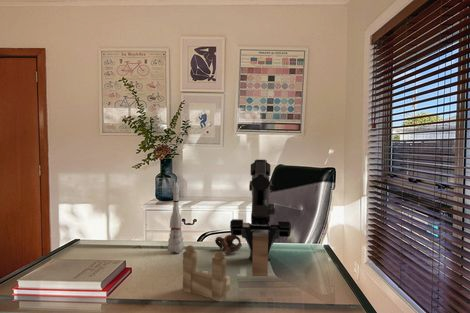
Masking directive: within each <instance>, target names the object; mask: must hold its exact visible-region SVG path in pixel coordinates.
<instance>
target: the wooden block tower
mask: <svg viewBox="0 0 470 313" xmlns="http://www.w3.org/2000/svg"><path fill="white" fill-rule="evenodd" d="M197 257H198V252H197V250H195V247H194V245H187V246H186V247H185V251H183V252H182V291H184V292H186V293H192V294H196V295H200V296H203V297H205V298H206V297H207V298H210V299H211V300H214V301H215V302H216V301H217V302H222V301H224V300H225V299H226V298H227V292H229V291H230V290H231V276H228V275H227V257H225V254H224V253H223V251H221V250H219V251H216V252H215V253H214V257H212V258H211V274H210V273H209V271H207V270H203V271H198V270H197V266H198V264H197V263H198V261H197V260H198V258H197Z"/></svg>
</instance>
